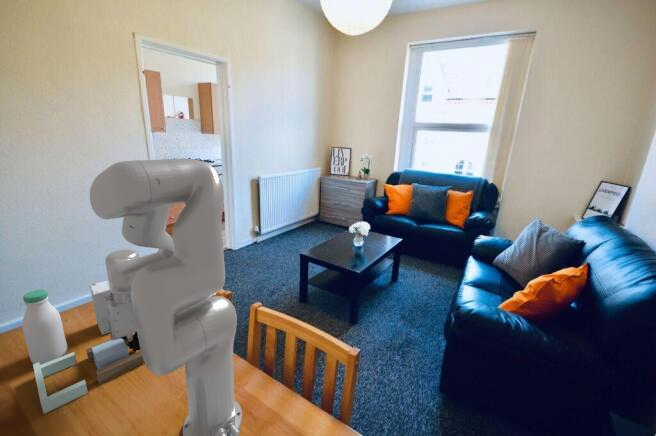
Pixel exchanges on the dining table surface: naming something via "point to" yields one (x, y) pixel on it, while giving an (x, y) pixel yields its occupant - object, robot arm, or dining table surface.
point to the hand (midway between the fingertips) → (135, 348)
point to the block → (109, 352)
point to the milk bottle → (42, 328)
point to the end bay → (63, 395)
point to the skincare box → (101, 305)
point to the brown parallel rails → (116, 365)
